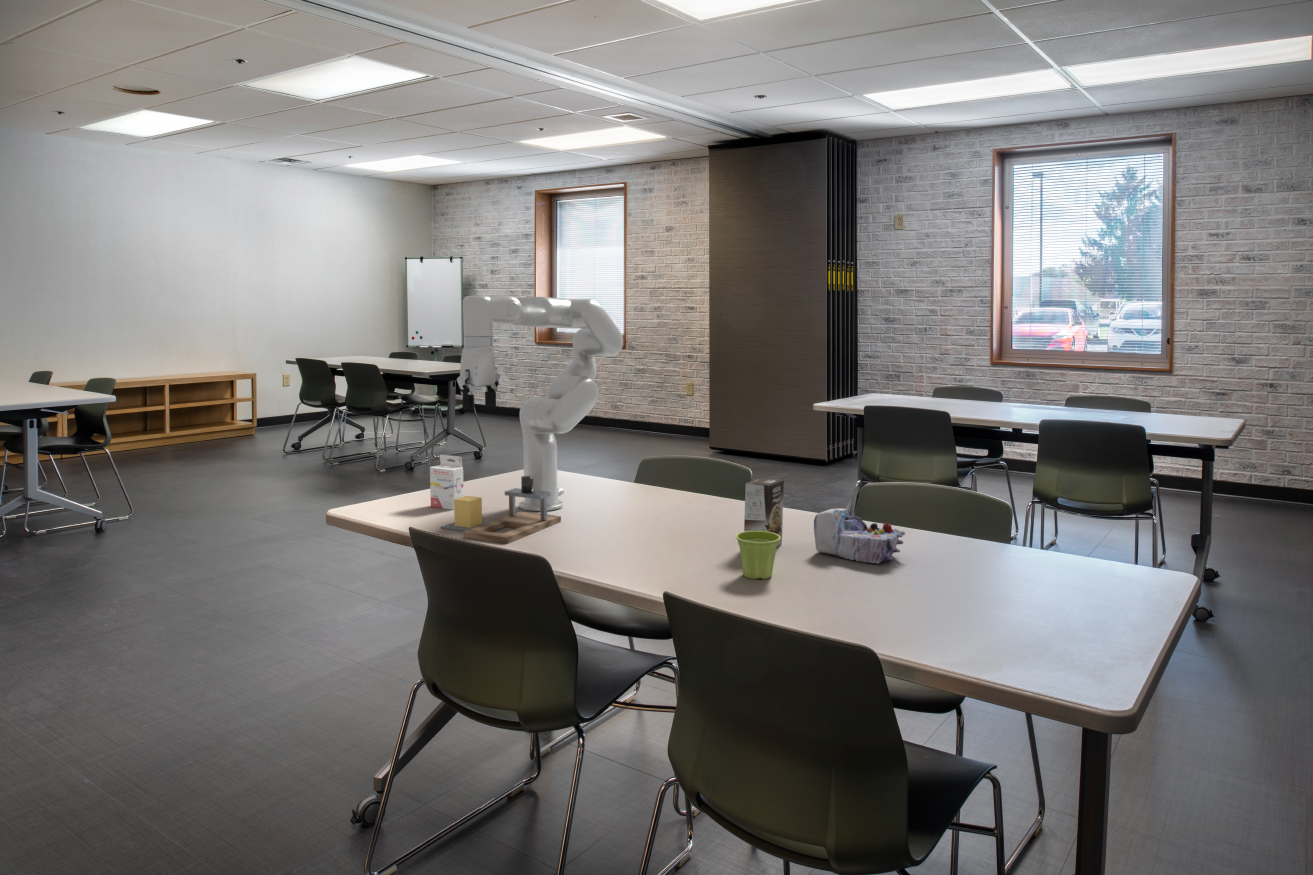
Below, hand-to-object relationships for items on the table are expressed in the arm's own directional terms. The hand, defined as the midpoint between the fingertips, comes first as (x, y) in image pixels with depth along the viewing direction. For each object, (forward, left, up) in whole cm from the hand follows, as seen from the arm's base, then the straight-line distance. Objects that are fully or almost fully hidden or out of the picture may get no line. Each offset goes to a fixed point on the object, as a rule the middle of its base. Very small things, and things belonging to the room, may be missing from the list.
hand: (479, 407), depth 228 cm
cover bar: (-1, +14, -29) cm, 32 cm away
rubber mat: (+8, +1, -30) cm, 31 cm away
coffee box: (-7, +77, -31) cm, 83 cm away
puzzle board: (+6, +14, -30) cm, 34 cm away
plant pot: (+16, +83, -31) cm, 90 cm away
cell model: (-9, +99, -31) cm, 104 cm away
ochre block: (+8, +1, -30) cm, 31 cm away
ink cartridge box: (-8, -18, -31) cm, 36 cm away
